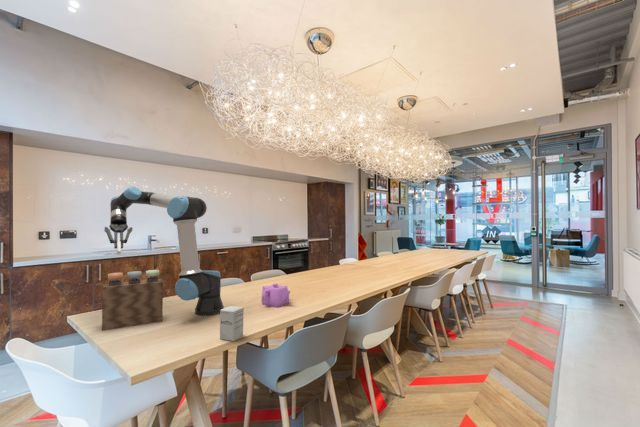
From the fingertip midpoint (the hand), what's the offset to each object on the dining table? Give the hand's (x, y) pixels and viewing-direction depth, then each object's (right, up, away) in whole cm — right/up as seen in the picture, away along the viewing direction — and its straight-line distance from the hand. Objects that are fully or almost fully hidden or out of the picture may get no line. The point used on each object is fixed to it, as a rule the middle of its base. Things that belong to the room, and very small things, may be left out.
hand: (118, 252), depth 153 cm
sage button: (+17, -13, +1) cm, 22 cm away
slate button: (+10, -13, -3) cm, 17 cm away
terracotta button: (+3, -13, -7) cm, 15 cm away
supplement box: (+65, -34, -24) cm, 77 cm away
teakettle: (+77, -36, +30) cm, 90 cm away
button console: (+10, -35, -4) cm, 36 cm away
